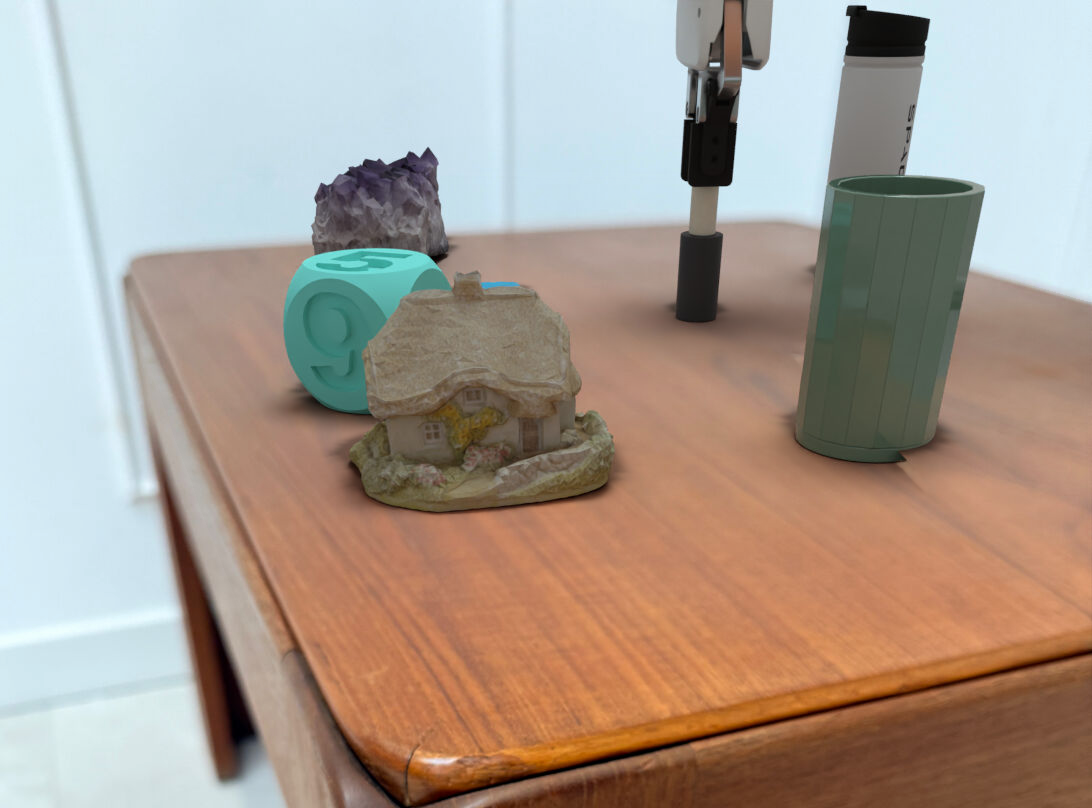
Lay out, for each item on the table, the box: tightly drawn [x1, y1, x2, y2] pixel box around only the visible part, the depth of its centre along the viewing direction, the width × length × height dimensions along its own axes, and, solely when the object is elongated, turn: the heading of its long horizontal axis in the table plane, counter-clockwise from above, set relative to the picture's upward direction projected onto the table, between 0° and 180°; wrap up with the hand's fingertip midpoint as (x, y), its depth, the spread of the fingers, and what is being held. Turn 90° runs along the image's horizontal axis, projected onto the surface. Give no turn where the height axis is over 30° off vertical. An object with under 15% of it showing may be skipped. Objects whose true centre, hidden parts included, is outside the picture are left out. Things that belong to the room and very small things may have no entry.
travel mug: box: [826, 4, 931, 185], centre depth 91 cm, size 6×7×20 cm
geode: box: [310, 146, 450, 257], centre depth 102 cm, size 20×12×10 cm, turn 172°
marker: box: [674, 186, 724, 323], centre depth 81 cm, size 3×3×15 cm
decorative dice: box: [282, 248, 453, 415], centre depth 68 cm, size 8×8×8 cm
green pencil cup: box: [794, 174, 986, 464], centre depth 58 cm, size 8×8×13 cm
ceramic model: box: [347, 269, 616, 513], centre depth 56 cm, size 14×11×10 cm
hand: (705, 181), depth 80 cm, fingers closed on marker, 2 cm apart
